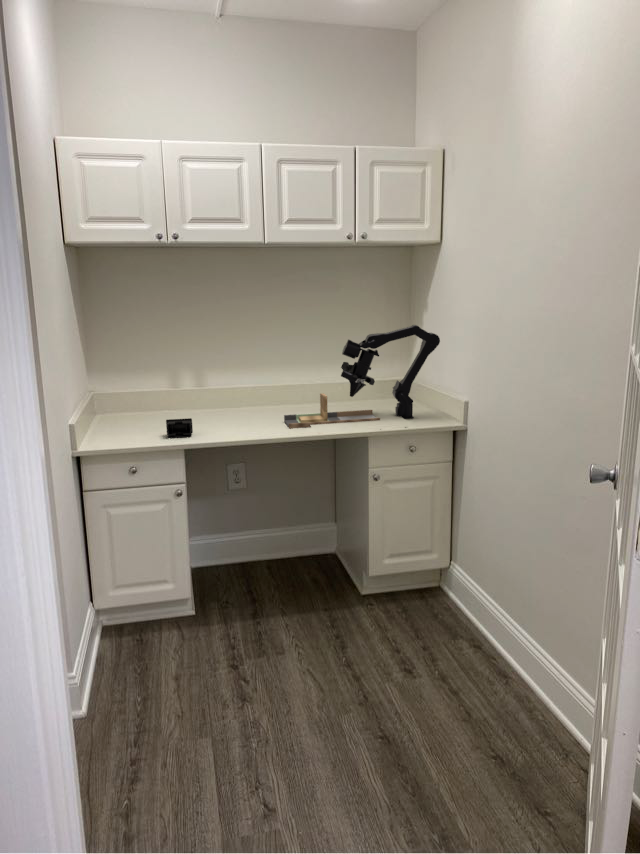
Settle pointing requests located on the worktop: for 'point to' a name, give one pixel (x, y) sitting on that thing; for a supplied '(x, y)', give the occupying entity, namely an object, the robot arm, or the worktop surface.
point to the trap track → (332, 416)
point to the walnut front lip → (328, 422)
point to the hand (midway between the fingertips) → (351, 396)
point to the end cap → (179, 428)
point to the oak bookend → (323, 412)
